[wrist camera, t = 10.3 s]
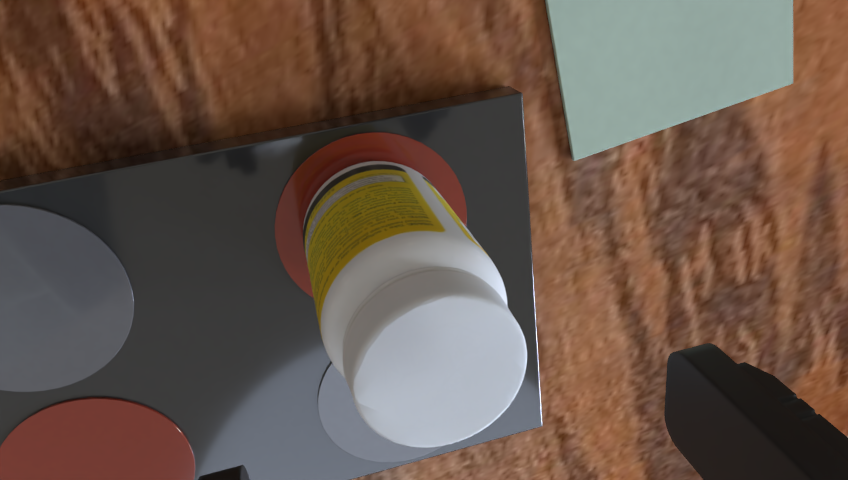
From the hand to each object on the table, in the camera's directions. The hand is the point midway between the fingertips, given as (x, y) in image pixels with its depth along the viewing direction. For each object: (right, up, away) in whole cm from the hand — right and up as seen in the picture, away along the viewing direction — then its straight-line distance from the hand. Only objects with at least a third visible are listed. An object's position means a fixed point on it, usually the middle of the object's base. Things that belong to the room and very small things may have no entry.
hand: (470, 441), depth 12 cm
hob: (-8, 0, +11) cm, 14 cm away
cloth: (+8, +12, +10) cm, 17 cm away
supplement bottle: (-3, +4, +10) cm, 11 cm away
